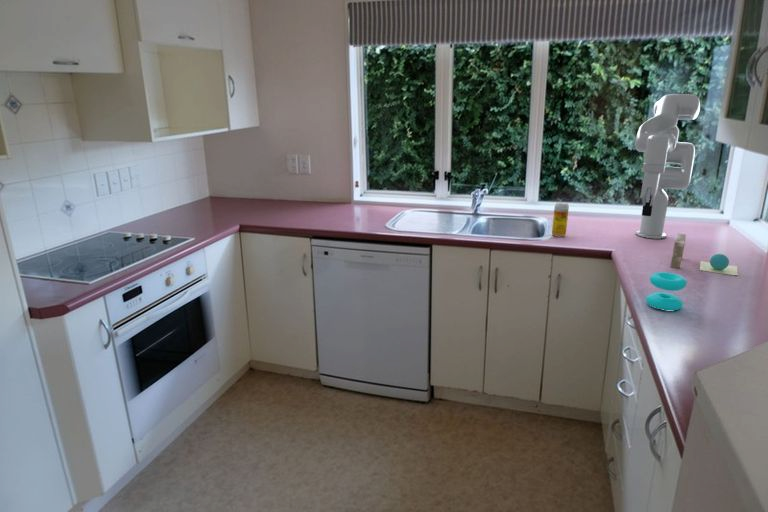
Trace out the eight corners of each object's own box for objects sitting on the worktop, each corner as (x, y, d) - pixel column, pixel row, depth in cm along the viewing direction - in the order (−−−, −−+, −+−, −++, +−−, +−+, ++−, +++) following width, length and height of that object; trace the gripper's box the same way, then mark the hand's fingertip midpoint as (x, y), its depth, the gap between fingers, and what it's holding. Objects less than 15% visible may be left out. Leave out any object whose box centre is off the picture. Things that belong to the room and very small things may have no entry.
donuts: (680, 271, 166) (692, 283, 156) (675, 301, 169) (686, 314, 159) (646, 270, 167) (656, 280, 158) (641, 299, 170) (651, 311, 161)
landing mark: (700, 261, 207) (700, 261, 207) (737, 266, 201) (737, 266, 201) (699, 270, 197) (699, 269, 197) (737, 276, 191) (737, 275, 191)
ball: (732, 256, 197) (725, 270, 199) (715, 250, 200) (708, 264, 202) (730, 259, 192) (723, 273, 195) (713, 252, 195) (706, 267, 198)
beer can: (556, 237, 240) (560, 205, 235) (549, 234, 246) (552, 202, 241) (568, 236, 242) (571, 204, 237) (560, 233, 247) (564, 201, 243)
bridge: (670, 267, 201) (674, 242, 198) (673, 256, 213) (677, 233, 210) (679, 268, 199) (683, 243, 196) (682, 257, 212) (686, 234, 209)
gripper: (645, 165, 210) (638, 210, 215) (640, 170, 198) (633, 218, 203) (666, 166, 206) (658, 212, 212) (662, 171, 194) (654, 220, 200)
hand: (646, 215), depth 207 cm, fingers closed
